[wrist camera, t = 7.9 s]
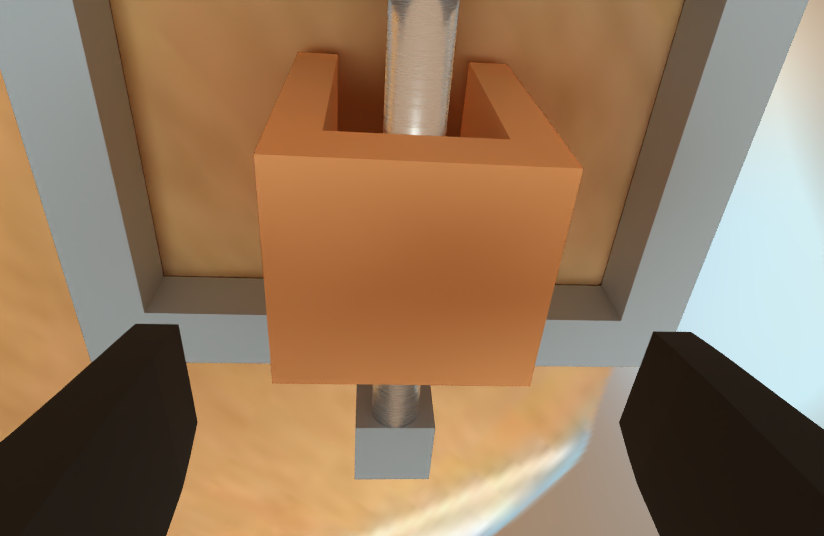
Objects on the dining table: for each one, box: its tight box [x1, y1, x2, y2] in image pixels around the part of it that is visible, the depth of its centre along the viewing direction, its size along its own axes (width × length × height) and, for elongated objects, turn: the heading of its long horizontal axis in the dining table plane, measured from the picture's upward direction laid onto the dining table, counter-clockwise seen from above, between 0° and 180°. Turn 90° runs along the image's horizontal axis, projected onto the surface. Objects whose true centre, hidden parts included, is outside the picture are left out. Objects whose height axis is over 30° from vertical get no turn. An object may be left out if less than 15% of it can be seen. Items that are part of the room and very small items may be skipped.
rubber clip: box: [254, 52, 583, 386], centre depth 14 cm, size 5×5×7 cm
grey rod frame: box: [0, 0, 809, 479], centre depth 15 cm, size 14×19×6 cm
